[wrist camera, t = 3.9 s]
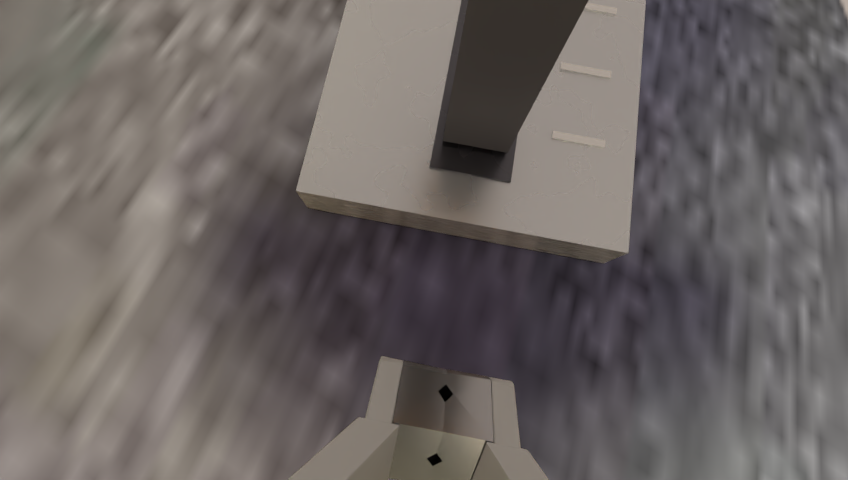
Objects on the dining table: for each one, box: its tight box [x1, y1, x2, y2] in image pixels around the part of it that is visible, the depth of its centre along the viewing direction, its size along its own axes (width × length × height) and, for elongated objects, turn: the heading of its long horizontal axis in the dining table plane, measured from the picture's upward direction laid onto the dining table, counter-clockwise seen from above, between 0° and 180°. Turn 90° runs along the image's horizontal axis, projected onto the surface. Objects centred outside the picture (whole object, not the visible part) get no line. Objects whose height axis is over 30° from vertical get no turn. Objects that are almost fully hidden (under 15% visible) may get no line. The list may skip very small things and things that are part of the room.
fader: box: [443, 0, 588, 153], centre depth 11 cm, size 3×3×10 cm
